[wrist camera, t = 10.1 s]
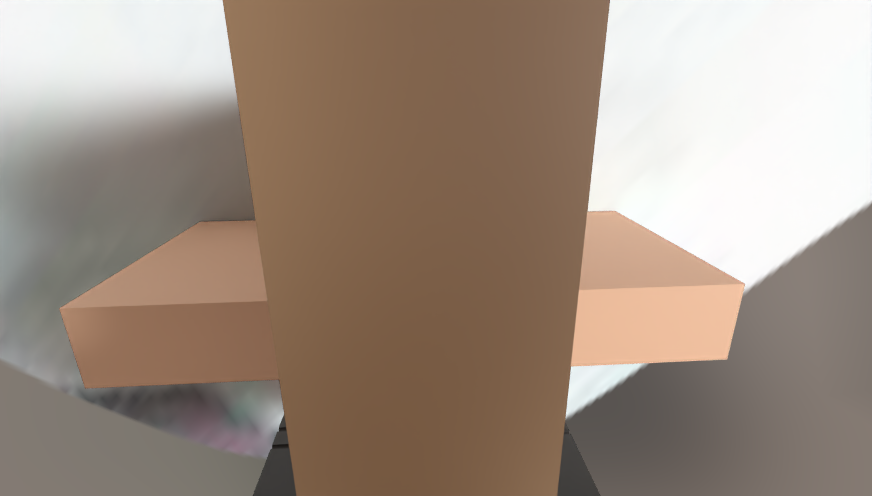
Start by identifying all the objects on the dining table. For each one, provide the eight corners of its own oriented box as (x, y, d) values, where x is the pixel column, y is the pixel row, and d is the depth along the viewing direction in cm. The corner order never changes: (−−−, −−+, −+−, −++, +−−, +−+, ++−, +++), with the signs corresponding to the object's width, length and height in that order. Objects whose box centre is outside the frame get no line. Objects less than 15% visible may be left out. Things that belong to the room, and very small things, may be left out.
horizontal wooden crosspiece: (209, 274, 19) (85, 388, 12) (199, 221, 19) (58, 308, 11) (609, 261, 20) (727, 359, 13) (615, 210, 20) (745, 284, 12)
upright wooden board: (392, 398, 20) (364, 955, 7) (376, 73, 16) (216, -37, 3) (444, 395, 21) (509, 937, 7) (442, 72, 16) (613, -34, 3)
